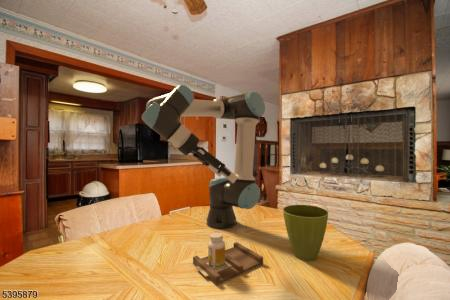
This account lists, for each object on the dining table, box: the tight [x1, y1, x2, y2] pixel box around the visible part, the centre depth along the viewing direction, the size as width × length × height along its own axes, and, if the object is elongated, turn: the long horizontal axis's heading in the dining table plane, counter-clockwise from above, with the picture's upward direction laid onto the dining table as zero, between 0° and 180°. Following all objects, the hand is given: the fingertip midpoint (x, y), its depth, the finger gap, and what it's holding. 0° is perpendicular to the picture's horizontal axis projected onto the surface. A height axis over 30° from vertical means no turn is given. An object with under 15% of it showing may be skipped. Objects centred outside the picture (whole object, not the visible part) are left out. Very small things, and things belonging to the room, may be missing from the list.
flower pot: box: [282, 204, 329, 261], centre depth 76 cm, size 15×15×16 cm
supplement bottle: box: [207, 232, 226, 269], centre depth 68 cm, size 5×5×10 cm
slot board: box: [192, 241, 264, 286], centre depth 71 cm, size 14×20×2 cm
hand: (227, 176), depth 80 cm, fingers open, 13 cm apart
